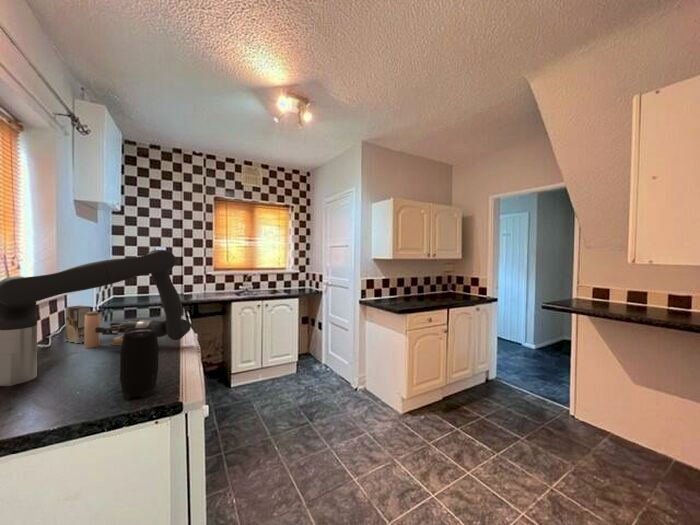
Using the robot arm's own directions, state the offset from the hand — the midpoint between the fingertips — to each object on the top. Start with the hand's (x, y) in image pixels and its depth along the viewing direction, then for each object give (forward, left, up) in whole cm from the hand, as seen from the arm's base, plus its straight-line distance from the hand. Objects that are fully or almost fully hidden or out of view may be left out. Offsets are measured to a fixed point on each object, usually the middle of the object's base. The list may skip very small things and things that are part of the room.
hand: (103, 327), depth 135 cm
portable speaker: (-46, -44, -9) cm, 64 cm away
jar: (0, +5, -9) cm, 10 cm away
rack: (+9, -6, -9) cm, 14 cm away
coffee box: (+8, +17, -9) cm, 21 cm away
